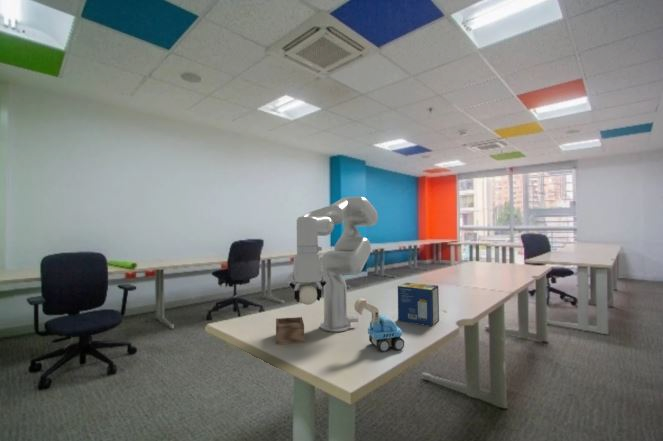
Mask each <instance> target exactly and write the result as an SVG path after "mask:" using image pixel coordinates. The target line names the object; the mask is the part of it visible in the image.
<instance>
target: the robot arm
mask: <svg viewBox="0 0 663 441" xmlns="http://www.w3.org/2000/svg"><path fill="white" fill-rule="evenodd" d="M378 218H379V214H378V212H377V210H376V208H375V206H373V205H372V203H371V202H370V201H369V200H368V199H367V198H365V197H364V196H347V197H342V198H340V199H339V200H337V201H335V202H334V203H332V204H330V205H327V206H324V207H321V208H318V209H314V210H312V211H309V212H307V213H305V214H303V215H302V216H299V217H297V219H296V254H294V256H293V266H292V268H293V269H292V272H291V273H290V274H289V275H288V276H287V277H286V278H285V279H284V281H285V282H286V284H288V285H289V286H290V287H291V288H292V289H293V292H294V294H293V295H294V300H296V302H297V303H299V302H300V300H299V291H300V289H299V287H300V286H301V284H307V283H308V284H309V283H311V284H312V283H315V284H316V286H317V287H316V288H315V289H316V290H317V294H318V296H317V300H316V301H318V302H319V301H321V298H322V289H323V321H322V322H321V323H320V325H319V326H320V329H321V330H323V331H326V332H333V333H334V332H335V333H337V332H338V333H339V332H345V331H348V330H349V329H351V327H352V325H351V323H359V317H356V316H349V315H348V309H347V308H348V305H347V303H348V299H347V298H348V294H347V291H348V290H347V282H346V279H345V278H344V275H345V276H357V275H359V274H360V273H361V272H362V271H363V269H364V266H365V265H366V263H367V261H368V260H369V257H370V254H371V251H372V250H371V249H372V248H371V247H372V246H371V242H370V240H369V239H368V238H366V237H364V236H361V233H360V231H359V229H357V228H356V227H373V226H374V225H376V224H377V222H378ZM341 223H342V226H343V233H342V234H341V235H340V237H339V238H338V240H337V241H336V243H335V245H334V247H333V248H334V249H333V250H330V251H327V252H324V253H323V255H322V257H321V254H320V253H319V252H322V250H323V248H322V246H319V244H318V243H319V241H318V240H319V237H324V236H325V237H326V236H329V235H330V234H332V233H333V231H334V228H335V225H339V224H341ZM292 279H293V281H294V283H293V282H292V281H291V280H292ZM322 279H323V280H322Z"/></svg>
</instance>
